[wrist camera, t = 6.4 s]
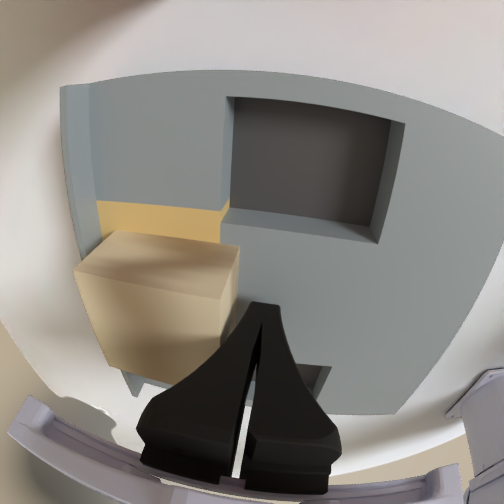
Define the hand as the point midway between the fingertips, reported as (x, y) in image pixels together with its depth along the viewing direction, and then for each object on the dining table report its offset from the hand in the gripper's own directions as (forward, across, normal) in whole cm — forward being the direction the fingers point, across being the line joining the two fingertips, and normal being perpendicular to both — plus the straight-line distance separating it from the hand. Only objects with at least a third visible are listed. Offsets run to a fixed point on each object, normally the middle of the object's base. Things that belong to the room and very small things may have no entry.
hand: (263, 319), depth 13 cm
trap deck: (+3, -1, 0) cm, 3 cm away
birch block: (+1, +4, 0) cm, 4 cm away
